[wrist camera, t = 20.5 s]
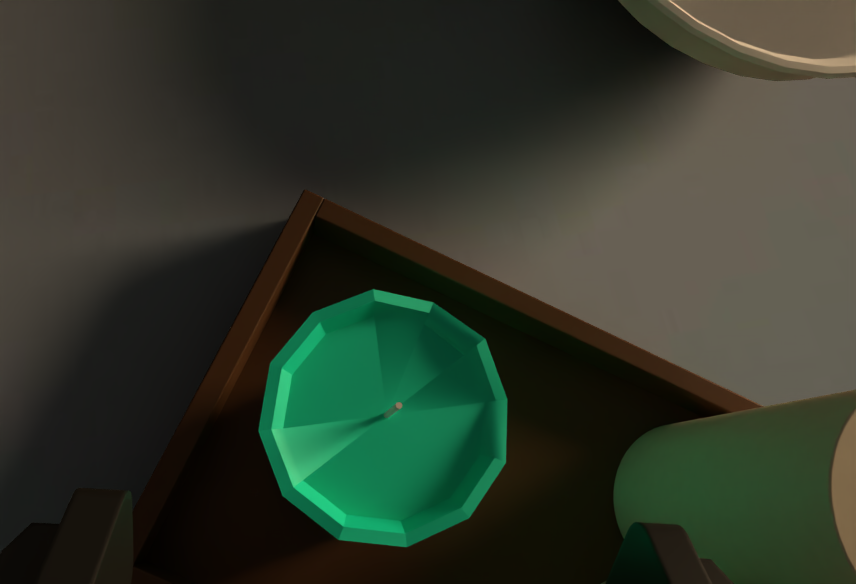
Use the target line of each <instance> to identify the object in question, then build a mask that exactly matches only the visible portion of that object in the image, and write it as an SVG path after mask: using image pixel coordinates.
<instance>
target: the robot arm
mask: <svg viewBox="0 0 856 584" xmlns="http://www.w3.org/2000/svg"><path fill="white" fill-rule="evenodd" d="M133 560H134V556H133V515H132V494H131V492H130V491H126V490H109V489H92V488H77V489H76V490H75V492H74V493H73V495H72V497H71V500H70V502H69V504H68V506H67V509H66V511H65V513H64V516H63V518H62V520H61V523H60V524H49V523H31V524H30V525H29V526H28V527H27V528H26V529H25V530H24V531H23V532H22V533H20V534H19V535H18V536H17V537H16V538H15V539H14V540H13V541H12V542H11V543H10V544H9V545H8V546H7V547H6V548H5V549H3V550H2V552H1V554H0V584H131V580H132V573H133ZM606 584H734V583H733V582H732V581H731V580H730V579H729V578H728V577H727V576H726V575H725V574H724V573H723V571H722V570H721V569H720V568H719V567H718V566H717V565H716V564H715V563H714V562H713V561H712V560H711V559H703V558H699V556H698V554H697V552H696V550H695V548H694V546H693V544H692V542H691V540H690V538H689V536H688V534H687V533H686V531H685V530H684V528H683V527H681V526H680V525H678V524H661V523H644V522H635V523H633V524H632V525H631V526H630V527H629V529H628V531H627V533H626V536H625V538H624V541H623V543H622V545H621V548H620V550H619V552H618V555H617V557H616V559H615V562H614V564H613V566H612V569H611V571H610V573H609V576H608V578H607V581H606Z"/></svg>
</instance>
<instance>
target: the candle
mask: <svg viewBox="0 0 856 584" xmlns="http://www.w3.org/2000/svg"><path fill="white" fill-rule="evenodd" d="M258 432H259V434H260V437H261V440H262V442H263V445H264V448H265V450H266V453H267V456H268V458H269V461H270V464H271V466H272V469H273V472H274V474H275V477H276V480H277V482H278V485H279V488H280V490H281V493H282V496H283V497H285V498H286V499H287V500H288V501H290V502H291V503H292V504H293V505H295V506H296V507H297V508H299V509H300V510H301V511H302V512H304V513H305V514H306V515H307V516H309V517H310V518H311V519H313V520H314V521H315V522H316V523H318V524H319V525H320V526H321V527H323V528H324V529H325V530H326V531H328V532H329V533H330V534H332V535H333V536H334V537H335V538H337V539H338V540H344V541H353V542H363V543H372V544H381V545H391V546H400V547H409V546H411V545H413V544H415V543H417V542H419V541H421V540H424V539H426V538H428V537H430V536H432V535H434V534H436V533H439V532H441V531H443V530H445V529H447V528H449V527H451V526H454V525H456V524H458V523H460V522H462V521H464V520H467V519H469V518H470V516H471V515H472V513H473V512H474V510H475V509H476V507H477V506H478V504H479V503H480V501H481V500H482V498H483V497H484V495H485V494H486V492H487V491H488V489H489V488H490V486H491V485H492V483H493V482H494V480H495V479H496V477H497V476H498V474H499V473H500V471H501V469H502V468H503V466H504V465H505V463H506V438H507V397H506V394H505V391H504V389H503V386H502V383H501V380H500V378H499V375H498V372H497V369H496V367H495V364H494V361H493V358H492V356H491V353H490V350H489V347H488V345H487V342H486V339H485V338H484V337H482V336H481V335H479V334H478V333H476V332H475V331H474V330H472V329H471V328H469V327H468V326H466V325H465V324H464V323H462V322H461V321H459V320H458V319H456V318H455V317H454V316H452V315H451V314H449V313H448V312H446V311H445V310H444V309H442V308H441V307H439V306H438V305H436V304H435V303H434V302H429V301H425V300H420V299H416V298H411V297H407V296H402V295H398V294H393V293H389V292H384V291H380V290H375V289H372V290H370V291H367V292H364V293H362V294H359V295H357V296H354V297H351V298H349V299H346V300H343V301H341V302H338V303H336V304H333V305H330V306H328V307H325V308H322V309H320V310H317V311H315V312H312V314H311V315H310V316H309V317H308V318H307V320H306V321H305V322H304V323H303V324H302V326H301V327H300V328H299V329H298V330H297V332H296V333H295V334H294V335H293V336H292V337H291V339H290V340H289V341H288V342H287V343H286V345H285V346H284V347H283V348H282V349H281V351H280V352H279V353H278V354H277V355H276V357H275V358H274V359H273V360H272V361H271V363H270V366H269V372H268V378H267V383H266V389H265V395H264V401H263V406H262V412H261V418H260V424H259V430H258Z"/></svg>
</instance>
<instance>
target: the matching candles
mask: <svg viewBox="0 0 856 584" xmlns="http://www.w3.org/2000/svg"><path fill="white" fill-rule="evenodd" d="M613 502H614V511H615V516H616V520H617V523H618V526H619V529H620V532H621V534H622V536H623V538H625V536H626V533H627V531H628V529H629V527H630V526H631V525H632V524H633V523H635V522H644V523H661V524H678V525H680V526H681V527H683V528H684V530H685V531H686V533H687V534H688V536H689V538H690V540H691V542H692V544H693V546H694V548H695V550H696V552H697V554H698V556H699V558H703V559H711V560H712V561H713V562H714V563H715V564H716V565H717V566H718V567H719V568H720V569H721V570H722V571H723V573H724V574H725V575H726V576H727V577H728V578H729V579H730V580H731V581H732V582H733V583H734V584H856V390H851V391H846V392H841V393H835V394H830V395H824V396H819V397H814V398H808V399H803V400H797V401H792V402H787V403H781V404H776V405H770V406H765V407H760V408H754V409H749V410H744V411H738V412H733V413H727V414H722V415H717V416H711V417H706V418H700V419H695V420H690V421H684V422H679V423H673V424H668V425H663V426H660V427H657V428H654V429H652V430H650V431H648V432H646V433H645V434H643V435H642V436H641V437H639V438H638V439H637V440H636V441H635V442H634V443H633V444H632V445H631V446H630V448H629V449H628V450H627V452H626V453H625V455H624V457H623V458H622V460H621V462H620V465H619V467H618V470H617V474H616V477H615V483H614V490H613ZM601 584H606V581H605V582H603V583H601Z"/></svg>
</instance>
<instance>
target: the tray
mask: <svg viewBox="0 0 856 584" xmlns="http://www.w3.org/2000/svg"><path fill="white" fill-rule="evenodd" d="M372 289H375V290H380V291H384V292H389V293H393V294H398V295H402V296H407V297H411V298H416V299H420V300H425V301H429V302H434V303H435V304H436V305H438V306H439V307H441V308H442V309H444V310H445V311H446V312H448V313H449V314H451V315H452V316H454V317H455V318H456V319H458V320H459V321H461V322H462V323H464V324H465V325H466V326H468V327H469V328H471V329H472V330H474V331H475V332H476V333H478V334H479V335H481V336H482V337H484V338H485V339H486V342H487V345H488V347H489V350H490V353H491V356H492V358H493V361H494V364H495V367H496V369H497V372H498V375H499V378H500V380H501V383H502V386H503V389H504V391H505V394H506V397H507V438H506V463H505V465H504V466H503V468H502V469H501V471H500V473H499V474H498V476H497V477H496V479H495V480H494V482H493V483H492V485H491V486H490V488H489V489H488V491H487V492H486V494H485V495H484V497H483V498H482V500H481V501H480V503H479V504H478V506H477V507H476V509H475V510H474V512H473V513H472V515H471V516H470V518H469V519H467V520H464V521H462V522H460V523H458V524H456V525H454V526H451V527H449V528H447V529H445V530H443V531H441V532H439V533H436V534H434V535H432V536H430V537H428V538H426V539H424V540H421V541H419V542H417V543H415V544H413V545H411V546H409V547H400V546H391V545H381V544H372V543H363V542H353V541H344V540H338V539H337V538H335V537H334V536H333V535H332V534H330V533H329V532H328V531H326V530H325V529H324V528H323V527H321V526H320V525H319V524H318V523H316V522H315V521H314V520H313V519H311V518H310V517H309V516H307V515H306V514H305V513H304V512H302V511H301V510H300V509H299V508H297V507H296V506H295V505H293V504H292V503H291V502H290V501H288V500H287V499H286V498H285V497H283V496H282V493H281V490H280V488H279V485H278V482H277V480H276V477H275V474H274V472H273V469H272V466H271V464H270V461H269V458H268V456H267V453H266V450H265V448H264V445H263V442H262V440H261V437H260V434H259V432H258V430H259V424H260V418H261V412H262V406H263V401H264V395H265V389H266V383H267V378H268V372H269V366H270V363H271V361H272V360H273V359H274V358H275V357H276V355H277V354H278V353H279V352H280V351H281V349H282V348H283V347H284V346H285V345H286V343H287V342H288V341H289V340H290V339H291V337H292V336H293V335H294V334H295V333H296V332H297V330H298V329H299V328H300V327H301V326H302V324H303V323H304V322H305V321H306V320H307V318H308V317H309V316H310V315H311V314H312V312H315V311H317V310H320V309H322V308H325V307H328V306H330V305H333V304H336V303H338V302H341V301H343V300H346V299H349V298H351V297H354V296H357V295H359V294H362V293H364V292H367V291H370V290H372ZM760 407H764V406H762V405H760V404H757V403H755V402H753V401H751V400H749V399H747V398H745V397H743V396H741V395H738V394H736V393H734V392H732V391H730V390H728V389H726V388H724V387H722V386H719V385H717V384H715V383H713V382H711V381H709V380H707V379H705V378H703V377H700V376H698V375H696V374H694V373H692V372H690V371H688V370H686V369H684V368H681V367H679V366H677V365H675V364H673V363H671V362H669V361H667V360H665V359H662V358H660V357H658V356H656V355H654V354H652V353H650V352H648V351H646V350H643V349H641V348H639V347H637V346H635V345H633V344H631V343H629V342H627V341H624V340H622V339H620V338H618V337H616V336H614V335H612V334H610V333H608V332H605V331H603V330H601V329H599V328H597V327H595V326H593V325H591V324H589V323H586V322H584V321H582V320H580V319H578V318H576V317H574V316H572V315H570V314H567V313H565V312H563V311H561V310H559V309H557V308H555V307H553V306H551V305H548V304H546V303H544V302H542V301H540V300H538V299H536V298H534V297H532V296H529V295H527V294H525V293H523V292H521V291H519V290H517V289H515V288H513V287H510V286H508V285H506V284H504V283H502V282H500V281H498V280H496V279H494V278H491V277H489V276H487V275H485V274H483V273H481V272H479V271H477V270H475V269H472V268H470V267H468V266H466V265H464V264H462V263H460V262H458V261H456V260H454V259H451V258H449V257H447V256H445V255H443V254H441V253H439V252H437V251H435V250H432V249H430V248H428V247H426V246H424V245H422V244H420V243H418V242H416V241H413V240H411V239H409V238H407V237H405V236H403V235H401V234H399V233H397V232H394V231H392V230H390V229H388V228H386V227H384V226H382V225H380V224H378V223H375V222H373V221H371V220H369V219H367V218H365V217H363V216H361V215H359V214H356V213H354V212H352V211H350V210H348V209H346V208H344V207H342V206H340V205H337V204H335V203H333V202H331V201H329V200H327V199H324V198H323V197H321V196H318V195H316V194H314V193H312V192H310V191H308V190H304V191H303V193H302V194H301V196H300V198H299V200H298V202H297V204H296V206H295V208H294V209H293V211H292V213H291V215H290V217H289V219H288V221H287V223H286V224H285V226H284V228H283V230H282V232H281V234H280V236H279V238H278V239H277V241H276V243H275V245H274V247H273V249H272V251H271V253H270V254H269V256H268V258H267V260H266V262H265V264H264V266H263V268H262V270H261V271H260V273H259V275H258V277H257V279H256V281H255V283H254V285H253V286H252V288H251V290H250V292H249V294H248V296H247V298H246V300H245V301H244V303H243V305H242V307H241V309H240V311H239V313H238V315H237V316H236V318H235V320H234V322H233V324H232V326H231V328H230V330H229V331H228V333H227V335H226V337H225V339H224V341H223V343H222V345H221V346H220V348H219V350H218V352H217V354H216V356H215V358H214V360H213V361H212V363H211V365H210V367H209V369H208V371H207V373H206V375H205V376H204V378H203V380H202V382H201V384H200V386H199V388H198V390H197V391H196V393H195V395H194V397H193V399H192V401H191V403H190V405H189V406H188V408H187V410H186V412H185V414H184V416H183V418H182V420H181V421H180V423H179V425H178V427H177V429H176V431H175V433H174V435H173V437H172V438H171V440H170V442H169V444H168V446H167V448H166V450H165V452H164V453H163V455H162V457H161V459H160V461H159V463H158V465H157V467H156V468H155V470H154V472H153V474H152V476H151V478H150V480H149V482H148V483H147V485H146V487H145V489H144V491H143V493H142V495H141V497H140V498H139V500H138V502H137V504H136V506H135V508H134V510H133V512H132V515H133V556H134V560H133V573H132V580H131V584H601V583H603V582H605V581H607V578H608V576H609V573H610V571H611V569H612V566H613V564H614V562H615V559H616V557H617V555H618V552H619V550H620V548H621V545H622V543H623V541H624V538H623V536H622V534H621V532H620V529H619V526H618V523H617V520H616V516H615V511H614V502H613V490H614V483H615V477H616V474H617V470H618V467H619V465H620V462H621V460H622V458H623V457H624V455H625V453H626V452H627V450H628V449H629V448H630V446H631V445H632V444H633V443H634V442H635V441H636V440H637V439H638V438H639V437H641V436H642V435H643V434H645V433H646V432H648V431H650V430H652V429H654V428H657V427H660V426H663V425H668V424H673V423H679V422H684V421H690V420H695V419H700V418H706V417H711V416H717V415H722V414H727V413H733V412H738V411H744V410H749V409H754V408H760Z"/></svg>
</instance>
